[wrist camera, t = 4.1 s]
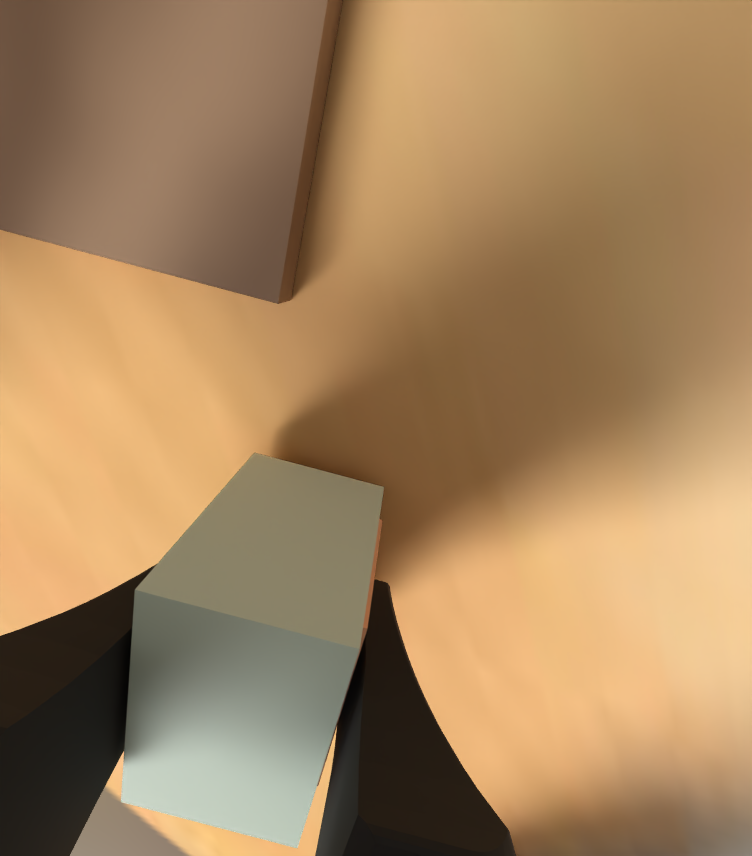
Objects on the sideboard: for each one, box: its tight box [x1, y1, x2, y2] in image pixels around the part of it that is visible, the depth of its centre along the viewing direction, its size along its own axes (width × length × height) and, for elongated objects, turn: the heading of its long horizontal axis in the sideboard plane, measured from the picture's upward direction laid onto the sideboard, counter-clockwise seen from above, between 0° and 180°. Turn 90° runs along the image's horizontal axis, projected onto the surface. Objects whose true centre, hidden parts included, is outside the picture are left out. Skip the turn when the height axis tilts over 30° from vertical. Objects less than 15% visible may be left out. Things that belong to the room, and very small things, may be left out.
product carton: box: [121, 453, 384, 848], centre depth 12 cm, size 4×6×6 cm
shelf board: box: [0, 0, 343, 304], centre depth 10 cm, size 14×9×1 cm, turn 76°
